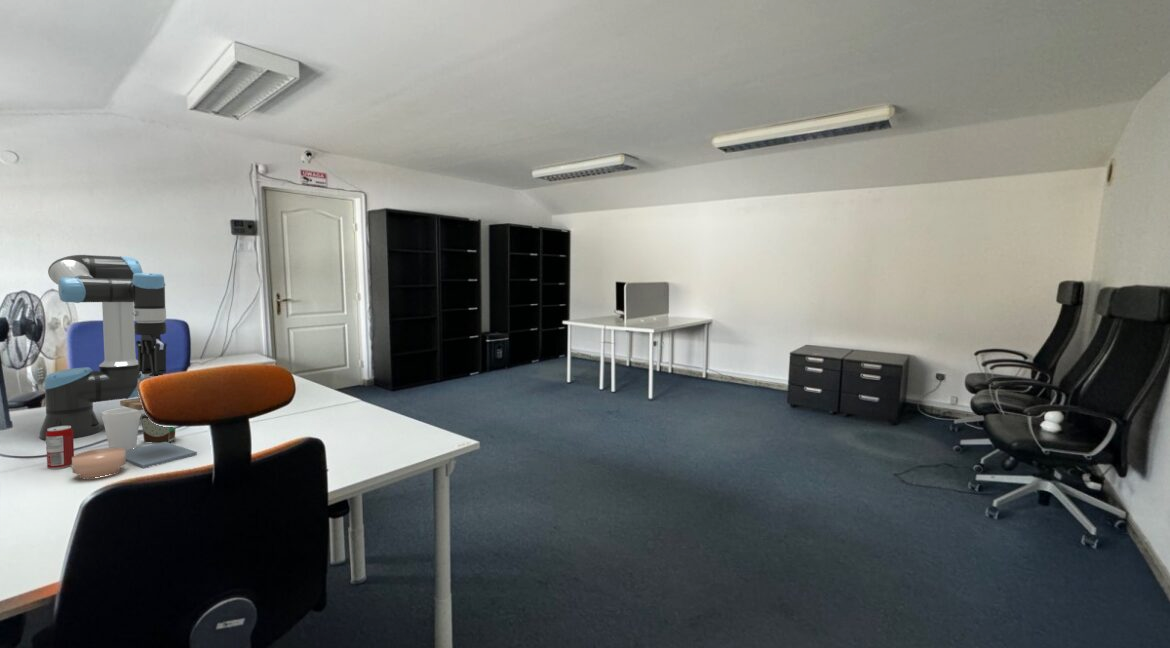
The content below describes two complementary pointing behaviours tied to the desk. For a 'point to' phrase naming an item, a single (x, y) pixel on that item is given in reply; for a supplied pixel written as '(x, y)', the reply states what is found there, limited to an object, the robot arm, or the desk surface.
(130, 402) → the lid
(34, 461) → the desk surface
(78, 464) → the bowl
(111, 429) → the foam cup
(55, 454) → the soda can
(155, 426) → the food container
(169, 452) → the mat
